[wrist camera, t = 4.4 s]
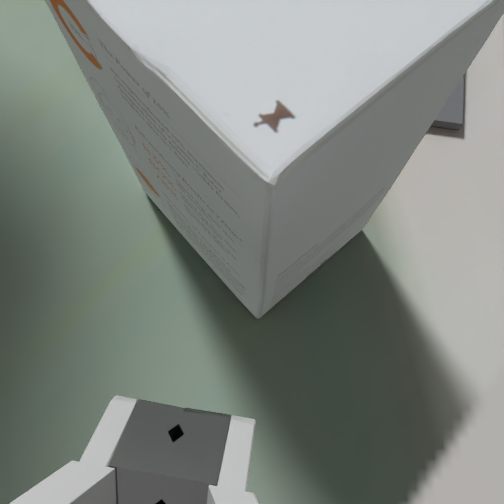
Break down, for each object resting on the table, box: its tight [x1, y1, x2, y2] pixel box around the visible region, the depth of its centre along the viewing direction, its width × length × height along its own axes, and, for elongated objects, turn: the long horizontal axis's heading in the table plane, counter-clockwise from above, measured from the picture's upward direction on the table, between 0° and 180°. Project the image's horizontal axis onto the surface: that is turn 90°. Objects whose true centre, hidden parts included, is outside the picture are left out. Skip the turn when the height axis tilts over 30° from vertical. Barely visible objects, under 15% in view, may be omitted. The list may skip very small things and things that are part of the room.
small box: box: [45, 0, 504, 319], centre depth 14 cm, size 8×6×13 cm
